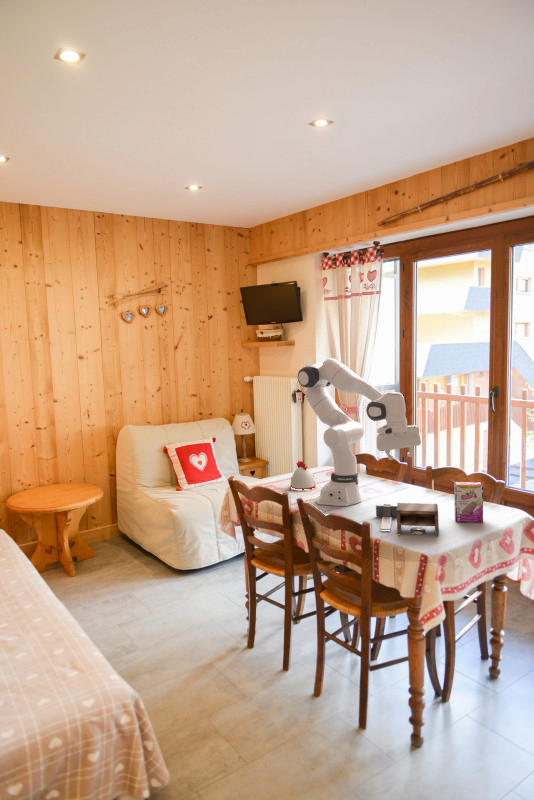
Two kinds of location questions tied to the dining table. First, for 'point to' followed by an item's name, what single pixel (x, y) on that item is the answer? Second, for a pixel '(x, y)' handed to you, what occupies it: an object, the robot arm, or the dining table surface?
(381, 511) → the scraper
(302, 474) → the kitchen timer
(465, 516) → the candy bar box
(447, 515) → the dining table surface
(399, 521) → the walnut cabinet
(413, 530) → the steel puck
